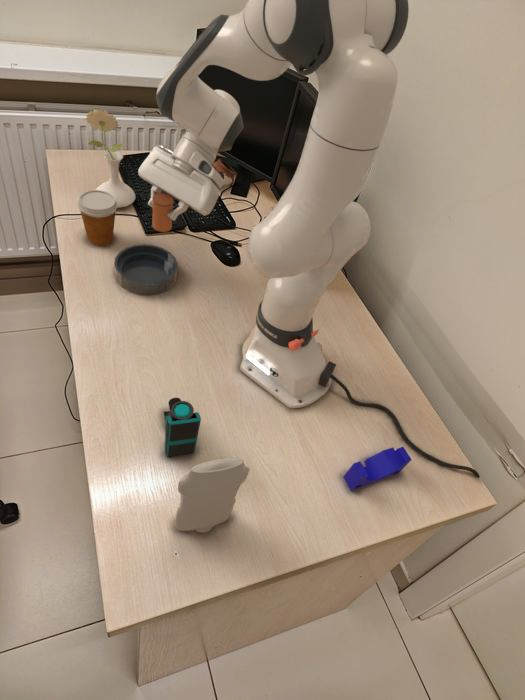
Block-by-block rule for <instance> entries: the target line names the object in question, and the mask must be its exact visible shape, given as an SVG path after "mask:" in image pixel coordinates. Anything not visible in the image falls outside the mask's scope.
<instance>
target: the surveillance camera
mask: <svg viewBox="0 0 525 700" xmlns="http://www.w3.org/2000/svg"><path fill="white" fill-rule="evenodd" d="M168 407H169V410H168V411H163V415H164V437H165V438H164V453H165V454H164V455H165V456H166V457H167V458H175V457H181V456H188V455H193V454H194V453H195V452H196V447H197V442H198V437H199V431H200V426H201V421H202V418H201V414H200V413H199V412H198V411H197V412H195V410H194V406H193V405H192V403H190V402H189V401H186V400H182V399H181V398H180V397H172V398H170V399H169V400H168Z"/></svg>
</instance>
